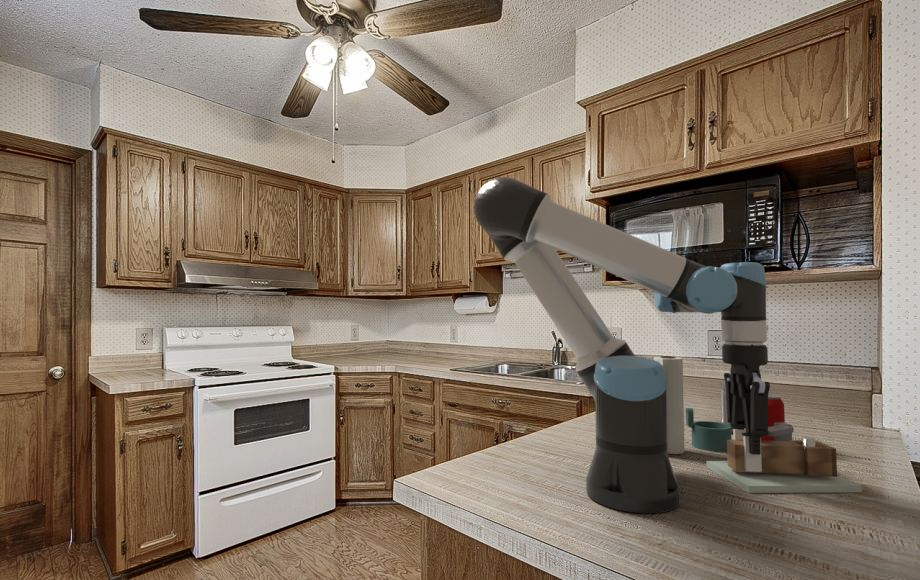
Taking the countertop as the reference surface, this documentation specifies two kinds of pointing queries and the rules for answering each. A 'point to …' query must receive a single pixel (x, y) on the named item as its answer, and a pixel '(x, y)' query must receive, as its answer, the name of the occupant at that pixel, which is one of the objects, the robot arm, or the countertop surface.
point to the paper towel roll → (674, 403)
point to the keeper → (781, 431)
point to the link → (787, 457)
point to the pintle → (807, 443)
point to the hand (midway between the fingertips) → (747, 467)
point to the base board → (782, 481)
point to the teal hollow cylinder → (708, 433)
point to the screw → (723, 404)
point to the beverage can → (774, 413)
